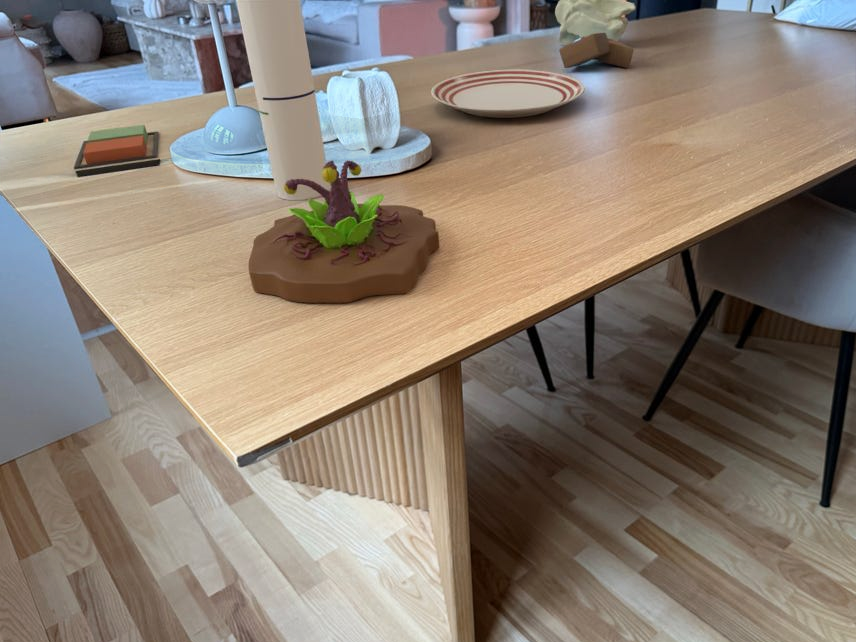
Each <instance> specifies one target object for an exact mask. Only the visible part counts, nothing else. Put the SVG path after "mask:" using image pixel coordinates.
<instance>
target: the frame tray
mask: <svg viewBox="0 0 856 642" xmlns="http://www.w3.org/2000/svg"><path fill="white" fill-rule="evenodd" d="M147 134H148V137H149V136H153V142H152V143H153V144H152V154H149V155H146V156H142V157H135V158H127V159H120V160H113V161H106V162H99V163H91V164H87V163H85V164H82V161H83V159H84V155H83V152H84V149H85V146H86V144H87V143H88V142H87V140H83V141H82V144H81V147H80V150H79V153H78V155H77V157H76V160H75V163H74V165H73V169H74V170H75V175H76V177H77V178H83V177H91V176H98V175H105V174H112V173H119V172H126V171H132V170H140V169H148V168H154V167H160V165H161V159H160V158H158V153H159V152H158V151H159V137H160V136H159V135H160V134H159V131H158V130H156V131H150V132H147Z"/></svg>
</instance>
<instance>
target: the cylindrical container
mask: <svg viewBox="0 0 856 642" xmlns="http://www.w3.org/2000/svg"><path fill="white" fill-rule="evenodd" d="M235 2H236V8H237V13H238V16H239V21H240V26H241V31H242V37H243V40H244V46H245V50H246V55H247V59H248V65H249V69H250V73H251V78H252V84H253V89H254V93H255V98H256V103H257V107H258V110H259V111H258V113H259V117H260V122H261V126H262V131H263V136H264V141H265V145H266V151H267V155H268V160H269V164H270V169H271V174H272V178H273V183H274V188H275V193H276V196H277V197H278V198H280V199H282V200H287V201H304V200H312V199H315V198H319V197H322V195H321V194H319V193H318V192H317V191H315V190H313V189H312V188H311V187H309V186H306V185H301V184H299V185H297V191H296V193H294V194H288V193H287V192H286V191H285V190H284V185H285V183H286V182H287V181H289V180H291V179H294V180H295V179H305V180H310V181H314V182H315V183H317V184H318V185H321V187H323V188H325V189H326V190H328V191H331V189H332V185H331V183H328V182H326V181H325V180H324V179H323V177H322V171H323V169H324V166H325V164H326V163H328V161H327V158H326V151H325V145H324V139H323V133H322V127H321V119H320V114H319V109H318V103H317V95H316V90H315V84H314V83H315V82H314V77H313V72H312V66H311V59H310V53H309V48H308V43H307V41H308V40H307V36H306V29H305V24H304V17H303V11H302V10H303V9H302V4H301V0H235Z"/></svg>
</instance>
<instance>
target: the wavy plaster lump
mask: <svg viewBox="0 0 856 642" xmlns="http://www.w3.org/2000/svg"><path fill="white" fill-rule="evenodd" d="M634 11H636V5H635V2H630V1H626V0H558V2H557V4H556V6H555V11H554V15H555V18H556V21H557V23H558V24H559V25H560V26H559V33H558V36H557V39H558V42H559V43H560V45H561V46H562V47H565V46H567V45H569V44H571V43H573V42H576V41H578V40H580V39H582V37H584V36H589V35H591V34H595V33H606V35H607V38H609V39H613V40H616V41H618V42H620V39H621V37H622V36H623V35H624V33H625V31H626V30H627V29H626V28H627V27H628V24H629V20H628V18H627V17H624V16H626V15H629V14H630V13H632V12H634Z"/></svg>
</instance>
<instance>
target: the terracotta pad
mask: <svg viewBox="0 0 856 642" xmlns="http://www.w3.org/2000/svg"><path fill="white" fill-rule="evenodd" d="M147 152H148V147H147V145H146V143H145V139H144V136H137V137H129V138H121V139H114V140H106V141H98V142H91V143H87V144H86V146H85V149H84V152H83V155H84V156H83V159H84V161H85V164H91V163H99V162H106V161H113V160H120V159H127V158H135V157H142V156H147Z"/></svg>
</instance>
